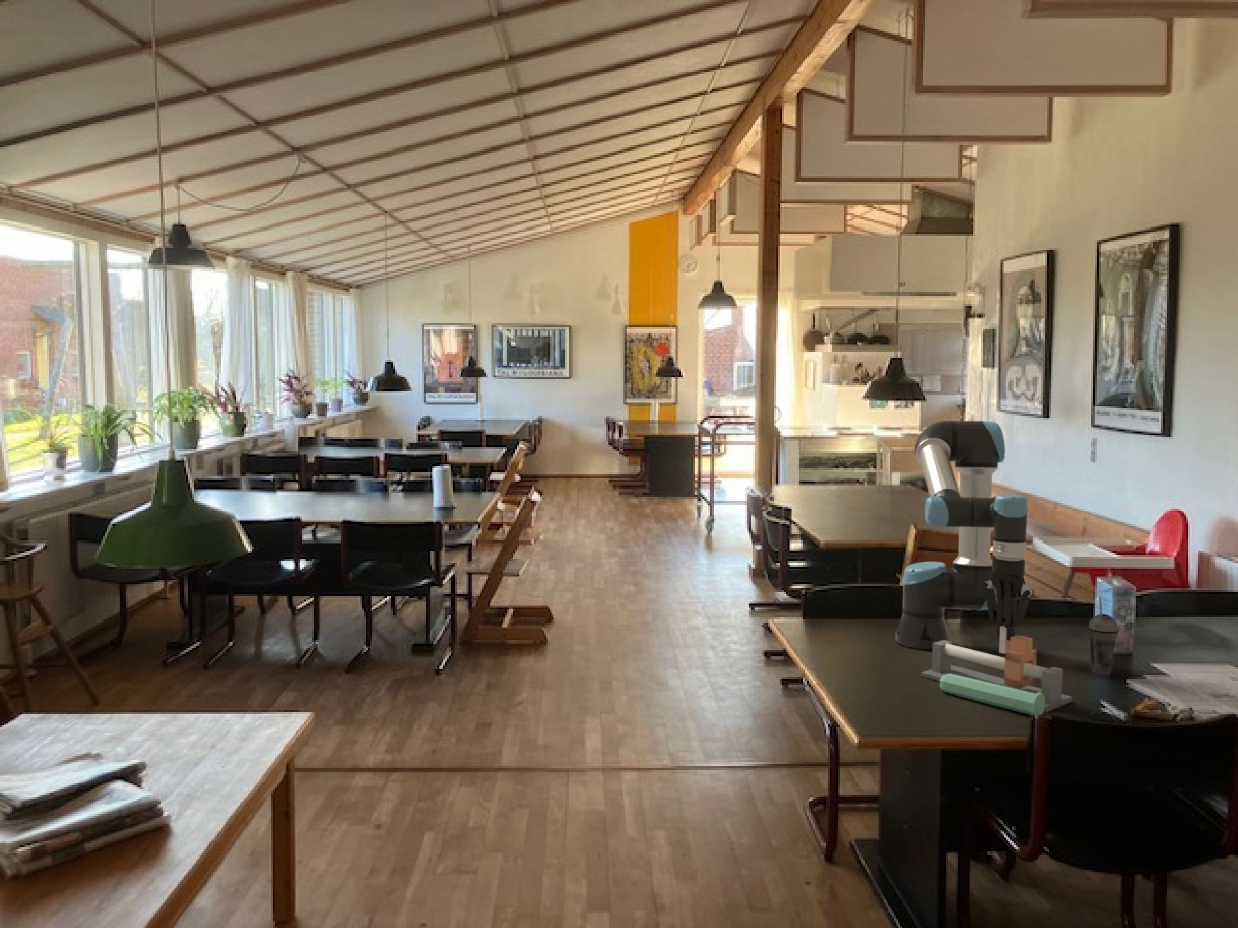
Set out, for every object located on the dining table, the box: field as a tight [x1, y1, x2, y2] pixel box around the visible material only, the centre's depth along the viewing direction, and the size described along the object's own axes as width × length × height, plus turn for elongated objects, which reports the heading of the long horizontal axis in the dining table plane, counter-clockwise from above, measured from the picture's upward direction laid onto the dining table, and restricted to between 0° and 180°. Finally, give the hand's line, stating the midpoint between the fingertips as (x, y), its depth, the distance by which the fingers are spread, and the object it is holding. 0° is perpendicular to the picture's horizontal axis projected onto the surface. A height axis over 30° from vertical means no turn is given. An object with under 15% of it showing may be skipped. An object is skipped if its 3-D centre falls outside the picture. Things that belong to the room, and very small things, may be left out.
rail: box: [920, 640, 1073, 713], centre depth 252 cm, size 34×12×9 cm, turn 39°
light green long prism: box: [939, 674, 1045, 717], centre depth 242 cm, size 6×6×25 cm
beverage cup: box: [1087, 597, 1119, 676], centre depth 265 cm, size 7×7×20 cm
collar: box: [1003, 634, 1038, 689], centre depth 246 cm, size 4×7×12 cm, turn 129°
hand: (1004, 651), depth 249 cm, fingers closed
